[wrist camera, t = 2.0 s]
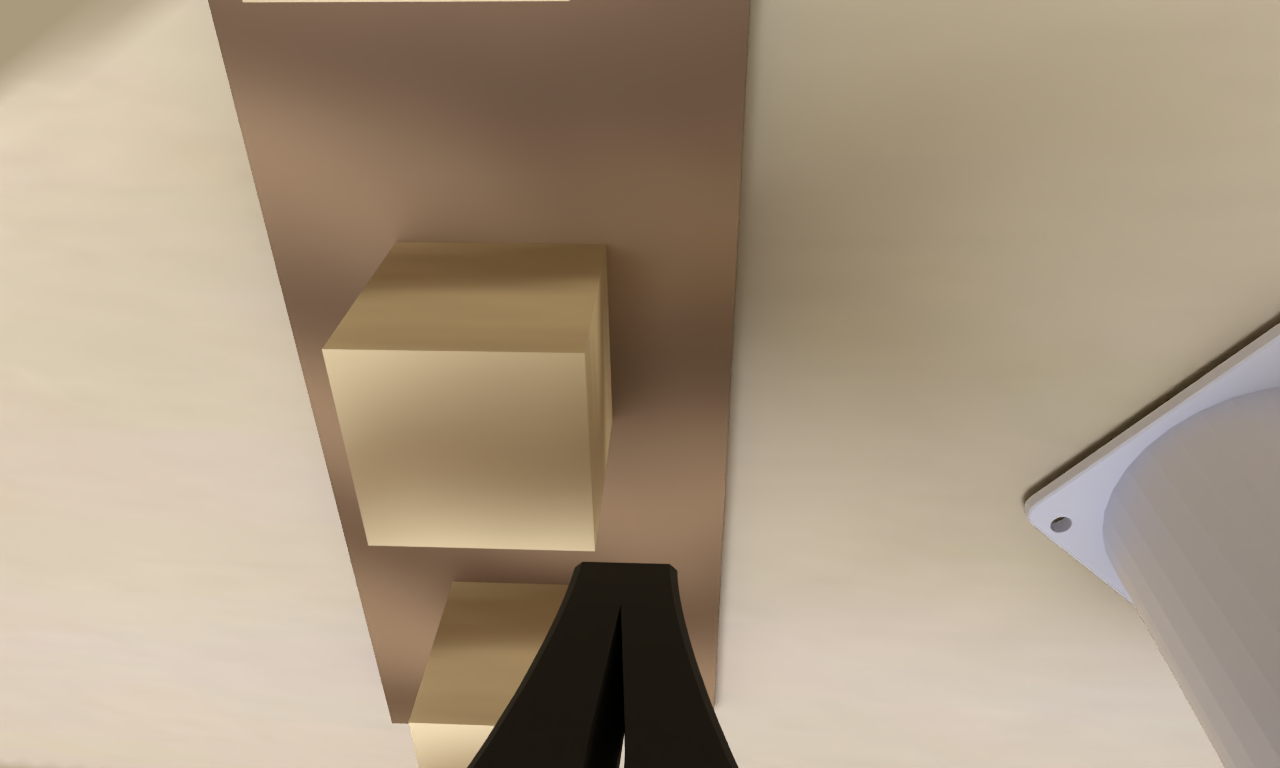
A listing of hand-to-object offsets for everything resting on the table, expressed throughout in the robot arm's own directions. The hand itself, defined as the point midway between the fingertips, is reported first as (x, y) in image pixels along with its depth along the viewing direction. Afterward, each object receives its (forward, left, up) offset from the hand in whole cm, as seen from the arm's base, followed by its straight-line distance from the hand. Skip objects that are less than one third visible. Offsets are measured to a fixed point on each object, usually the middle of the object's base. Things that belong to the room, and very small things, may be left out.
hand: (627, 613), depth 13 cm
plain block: (+2, +2, -9) cm, 9 cm away
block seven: (-4, +10, -9) cm, 14 cm away
